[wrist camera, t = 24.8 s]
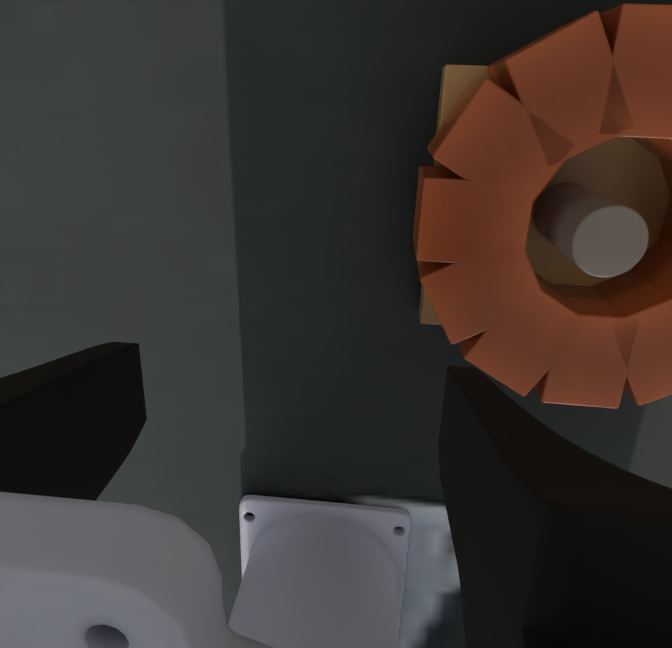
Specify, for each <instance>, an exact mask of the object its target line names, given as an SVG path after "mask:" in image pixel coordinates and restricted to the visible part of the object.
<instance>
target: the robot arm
mask: <svg viewBox="0 0 672 648" xmlns="http://www.w3.org/2000/svg"><path fill="white" fill-rule="evenodd" d="M146 420H147V417H146V408H145V398H144V389H143V380H142V370H141V361H140V352H139V344H137V343H123V342H110V343H105V344H101V345H97V346H94V347H91V348H88V349H85V350H82V351H79V352H76V353H73V354H70V355H67V356H64V357H62V358H59V359H56V360H53V361H50V362H47V363H45V364H42V365H39V366H36V367H33V368H30V369H27V370H24V371H21V372H18V373H15V374H12V375H9V376H5V377H2V378H0V648H398V638H399V629H400V619H401V610H402V600H403V591H404V581H405V572H406V563H407V553H408V544H409V534H410V525H411V518H410V514H409V513H408V511H406V510H404V509H400V508H390V507H379V506H368V505H357V504H346V503H335V502H324V501H313V500H302V499H291V498H281V497H270V496H259V495H246V496H244V497H243V498H242V499H241V501H240V505H239V518H240V544H241V570H242V581H241V584H240V588H239V591H238V594H237V597H236V600H235V603H234V607H233V610H232V613H231V616H230V619H229V622H228V625H227V622H226V618H225V613H224V609H223V591H222V575H221V573H220V570H219V568H218V565H217V562H216V560H215V557H214V555H213V552H212V550H211V547H210V544H209V543H208V542H207V541H205V540H204V539H203V538H202V537H201V536H200V535H198V534H197V533H196V532H195V531H194V530H192V529H191V528H190V527H189V526H188V525H187V524H185V523H184V522H183V521H182V520H181V519H180V518H178V517H176V516H173V515H169V514H166V513H163V512H160V511H157V510H153V509H150V508H147V507H144V506H140V505H134V504H124V503H113V502H103V501H96V499H97V498H98V496H99V495H100V494H101V492H102V491H103V490H104V488H105V487H106V485H107V484H108V483H109V481H110V480H111V479H112V477H113V476H114V474H115V473H116V472H117V470H118V469H119V467H120V466H121V465H122V463H123V462H124V460H125V459H126V457H127V456H128V455H129V453H130V451H131V449H132V448H133V446H134V444H135V442H136V440H137V438H138V436H139V434H140V432H141V430H142V428H143V426H144V424H145V422H146ZM438 444H439V463H440V478H441V484H442V490H443V495H444V500H445V505H446V510H447V515H448V520H449V525H450V530H451V535H452V540H453V545H454V549H455V554H456V559H457V565H458V571H459V578H460V585H461V597H462V608H463V619H464V631H465V643H466V648H672V489H671V488H668V487H665V486H663V485H660V484H657V483H655V482H652V481H649V480H647V479H644V478H642V477H640V476H637V475H635V474H633V473H630V472H628V471H626V470H623V469H621V468H619V467H617V466H615V465H613V464H611V463H609V462H607V461H605V460H603V459H601V458H598V457H597V456H595V455H593V454H591V453H589V452H587V451H585V450H583V449H582V448H580V447H578V446H577V445H575V444H573V443H572V442H570V441H568V440H567V439H565V438H563V437H562V436H560V435H559V434H557V433H556V432H554V431H552V430H551V429H550V428H548V427H547V426H545V425H544V424H543V423H541V422H540V421H539V420H537V419H536V418H534V417H533V416H532V415H530V414H529V413H528V412H527V411H525V410H524V409H523V408H522V407H520V406H519V405H518V404H517V403H515V402H514V401H513V400H512V399H511V398H510V397H508V396H507V395H506V394H505V393H504V392H503V391H502V390H500V389H499V388H498V387H497V386H496V385H495V384H494V383H493V382H492V381H490V380H489V379H488V378H487V377H486V376H485V375H484V374H483V373H481V372H480V371H479V370H478V369H476V368H470V367H457V366H448V369H447V377H446V385H445V393H444V402H443V410H442V418H441V427H440V435H439V443H438ZM248 512H250V513H253V514H254V515H253V516H251V515H249V514H247V513H248ZM399 526H400V527H402V529H399V530H398V529H395V527H399Z"/></svg>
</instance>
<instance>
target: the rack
mask: <svg viewBox="0 0 672 648" xmlns="http://www.w3.org/2000/svg"><path fill="white" fill-rule="evenodd" d="M487 67H488V66H480V65H445V66H444V67H443V68H442V76H441V87H440V97H439V108H438V118H437V129H436V133H437V131H438V130H439V128H440V127H441V125H442V124H443V122H444V121H445V119H446V118H447V116H448V115H449V113H450V112H451V110H452V109H453V108H454V106H455V105H456V103H457V102H458V100H459V99H460V97H461V96H462V94H463V93H464V91H465V90H466V88H467V87H468V85H469V84H470V83H471V82H473V81H477V80H481V79H484V78H489V79H490V80H492V79H491V77H490V74H489V72H488V69H487ZM433 167H445V166H444V165H442V164H441V163H439V162H438V161H436V160H435V159H434V160H433ZM670 198H671V194H670V191H669V188H668V185H667V182H666V178H665V175H664V172H663V169H662V166H661V163H660V160H659V158H658V157H657V156H656V155H654V154H653V153H651V152H650V151H649V150H647V149H646V148H645V147H643V146H642V145H641V144H639V143H638V142H636V141H635V140H634V139H632V138H629V137H615V138H612V139H610V140H608V141H606V142H604V143H602V144H600V145H598V146H596V147H594V148H592V149H590V150H587V151H585V152H583V153H581V154H579V155H577V156H575V157H573V158H571V159H569V160H567V161H565V162H564V163H563V165H562V166H561V167H560V169H559V170H558V171H557V172H556V174H555V175H554V176H553V178H552V179H551V180H550V181H549V183H548V184H547V185H546V186H545V188H544V189H543V190H542V192H541V193H540V194H539V195H538V197H537V198H536V199H535V201H534V202H533V207H532V213H531V219H530V224H529V230H528V236H527V242H526V248H525V251H526V253H527V256H528V258H529V260H530V263H531V265H532V268H533V270H534V272H535V273H536V274H538V275H539V276H541V277H542V278H544V279H545V280H547V281H548V282H550V283H551V284H558V285H573V286H588V287H592V286H594V285H596V284H599V283H601V282H604V281H606V280H608V279H611V278H613V277H616V276H618V275H620V274H623V273H625V272H628V271H630V270H631V269H632V268H633V267H634V266H635V265H636V264H637V263H638V262H639V261H640V260H641V258H642V257H643V256H644V255H645V254H646V253H647V252H648V251H649V250H650V248H651V247H652V246H653V245H654V244H655V243H656V242H657V241H658V240H659V238H660V236H661V232H662V228H663V224H664V221H665V217H666V213H667V209H668V205H669V202H670ZM419 317H420V323H421V324H430V325H441V323H440V321H439V319H438V317H437V315H436V313H435V310H434V308H433V306H432V304H431V302H430V300H429V298H428V296H427V294H426V292H425V290H424V288H423V286H421V296H420V307H419Z"/></svg>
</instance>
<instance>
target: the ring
mask: <svg viewBox="0 0 672 648" xmlns="http://www.w3.org/2000/svg"><path fill="white" fill-rule="evenodd" d="M487 69H488V72H489V74H490V77H491V79H492V80H490V79H489V78H484V79H481V80H477V81H473V82H471V83H470V84H469V85H468V87H467V88H466V90H465V91H464V93H463V94H462V96H461V97H460V99H459V100H458V102H457V103H456V105H455V106H454V108H453V109H452V110H451V112H450V113H449V115H448V116H447V118H446V119H445V121H444V122H443V124H442V125H441V127H440V128H439V130H438V131H437V133H436V134H435V136H434V137H433V139H432V140H431V142H430V143H429V145H428V146H427V150H428V151H429V153H430V154H431V155H432V157H433V158H434V159H435V160H436V161H438V162H439V163H441V164H442V165H444V166H445V167H430V166H420V167H419V176H418V186H417V197H416V208H415V218H414V229H413V241H414V248H415V255H416V260H417V263H418V270H419V277H420V282H421V284H422V286H423V288H424V290H425V292H426V294H427V296H428V298H429V300H430V302H431V304H432V306H433V308H434V310H435V313H436V315H437V317H438V319H439V321H440V323H441V325H442V327H443V329H444V331H445V333H446V335H447V337H448V339H449V341H450V343H451V344H456V343H458V342H459V343H460V347H461V350H462V354H463V358H464V359H465V360H467V361H468V362H470V363H471V364H473V365H474V366H476V367H478V368H479V369H481V370H482V371H484V372H485V373H487V374H489V375H490V376H492V377H493V378H495V379H496V380H498V381H499V382H501V383H503V384H504V385H506V386H507V387H509V388H510V389H512V390H514V391H515V392H517V393H518V394H520V395H521V396H523V397H525V396H526V395H527V394H528V393H529V392H530V390H531V389H532V388H533V387H535V389H536V391H537V393H538V395H539V397H540V399H541V401H542V402H544V403H554V404H566V405H578V406H590V407H602V408H614V409H617V408H618V407H619V404H620V401H621V397H622V393H623V389H625V390H626V392H627V393H628V394H629V395H630V397H631V398H632V399H633V400H634V402H635V403H636V404H637V405H638V406H641V405H643V404H646V403H649V402H652V401H655V400H658V399H660V398H663V397H666V396H669V395H672V5H665V4H632V3H624V4H622V5H620V6H617V7H615V8H613V9H610V10H608V11H606V12H603V13H601V14H599V12H598V11H594V12H591V13H589V14H587V15H585V16H583V17H580V18H578V19H576V20H574V21H572V22H569V23H567V24H565V25H563V26H561V27H559V28H557V29H555V30H553V31H551V32H550V33H548V34H546V35H544V36H542V37H540V38H539V39H537V40H535V41H533V42H531V43H529V44H528V45H526V46H524V47H522V48H520V49H518V50H516V51H515V52H513V53H511V54H509V55H507V56H505V57H504V58H502V59H500V60H498V61H496V62H494V63H492V64H491V65H489V66H488V67H487ZM615 137H629V138H632V139H634V140H635V141H636V142H638V143H639V144H641V145H642V146H643V147H645V148H646V149H647V150H649V151H650V152H651V153H653V154H654V155H656V156H657V157H658V158H659V160H660V163H661V166H662V169H663V172H664V175H665V178H666V182H667V185H668V188H669V191H670V194H671V198H670V202H669V205H668V209H667V213H666V217H665V221H664V224H663V228H662V232H661V236H660V238H659V240H658V241H657V242H656V243H655V244H654V245H653V246H652V247H651V248H650V250H649V251H648V252H647V253H646V254H645V255H644V256H643V257H642V258H641V260H640V261H639V262H638V263H637V264H636V265H635V266H634V267H633V268H632V269H631V270H630V271H628V272H625V273H623V274H620V275H618V276H616V277H613V278H611V279H608V280H606V281H604V282H601V283H599V284H596V285H594V286H592V287H588V286H573V285H558V284H551V283H550V282H548V281H547V280H545V279H544V278H542V277H541V276H539V275H538V274H536V273H535V272H534V270H533V268H532V265H531V263H530V260H529V258H528V256H527V253H526V251H525V248H526V242H527V236H528V230H529V224H530V219H531V213H532V207H533V202H534V201H535V199H536V198H537V197H538V195H539V194H540V193H541V192H542V190H543V189H544V188H545V186H546V185H547V184H548V183H549V181H550V180H551V179H552V178H553V176H554V175H555V174H556V172H557V171H558V170H559V169H560V167H561V166H562V165H563V163H564V162H565V161H567V160H569V159H571V158H573V157H575V156H577V155H579V154H581V153H583V152H585V151H587V150H590V149H592V148H594V147H596V146H598V145H600V144H602V143H604V142H606V141H608V140H610V139H612V138H615Z"/></svg>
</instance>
